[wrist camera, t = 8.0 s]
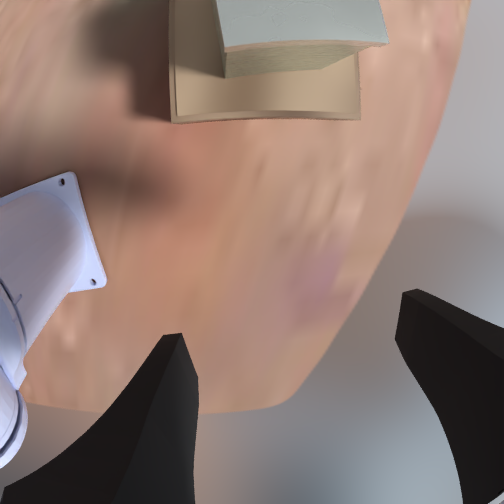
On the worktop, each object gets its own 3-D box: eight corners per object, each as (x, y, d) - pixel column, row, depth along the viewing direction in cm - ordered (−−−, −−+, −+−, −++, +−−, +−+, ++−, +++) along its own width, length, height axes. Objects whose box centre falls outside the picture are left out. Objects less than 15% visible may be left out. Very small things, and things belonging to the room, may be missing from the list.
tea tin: (223, 81, 12) (224, 47, 6) (207, -4, 10) (202, -74, 4) (324, 71, 12) (389, 43, 6) (306, -11, 10) (352, -71, 4)
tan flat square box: (181, 124, 16) (171, 123, 12) (179, -8, 12) (170, -38, 8) (332, 120, 17) (361, 120, 13) (324, -6, 13) (348, -30, 9)
